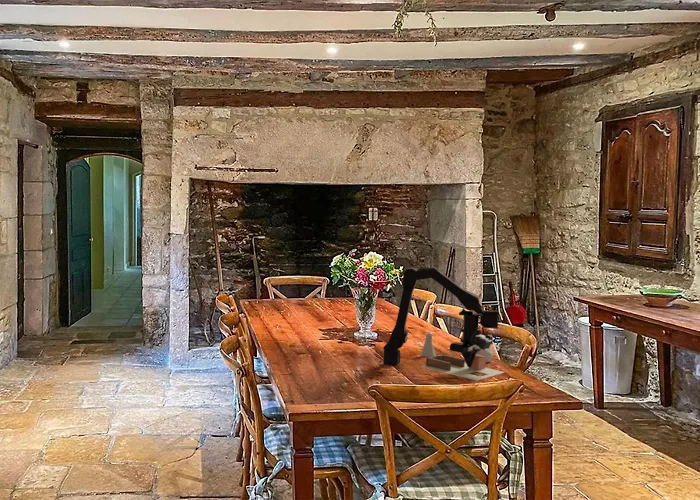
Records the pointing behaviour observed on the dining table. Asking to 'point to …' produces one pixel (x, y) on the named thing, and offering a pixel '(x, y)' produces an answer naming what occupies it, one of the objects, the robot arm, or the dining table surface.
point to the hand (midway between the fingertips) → (469, 367)
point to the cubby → (444, 362)
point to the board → (467, 371)
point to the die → (486, 353)
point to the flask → (428, 347)
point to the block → (478, 362)
